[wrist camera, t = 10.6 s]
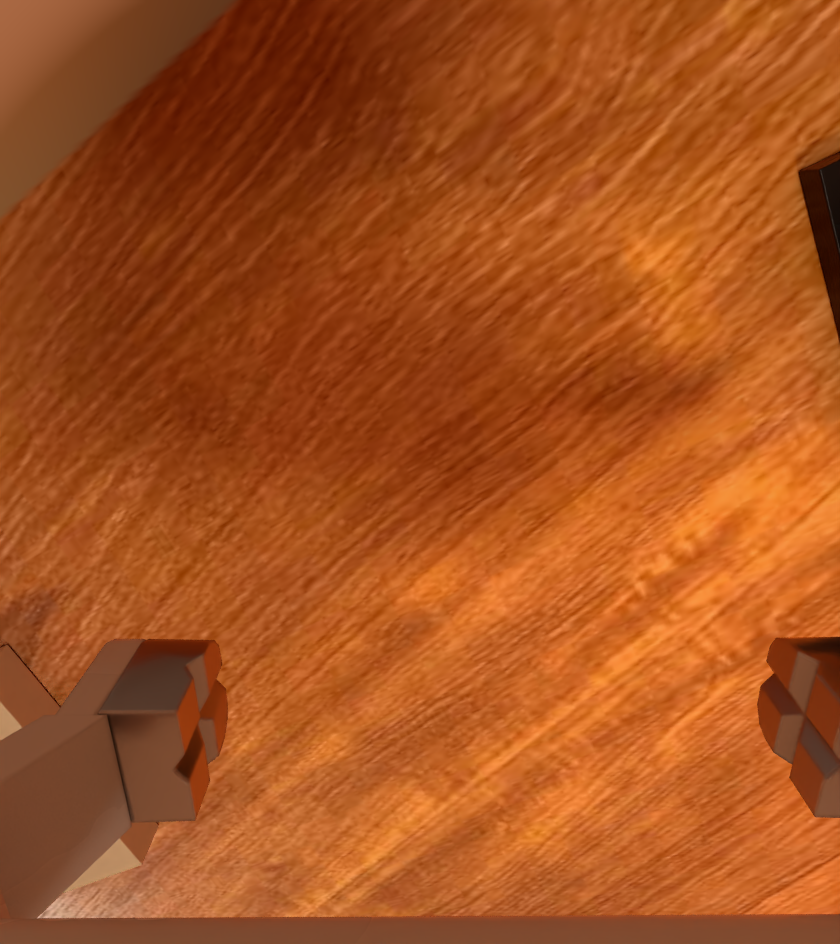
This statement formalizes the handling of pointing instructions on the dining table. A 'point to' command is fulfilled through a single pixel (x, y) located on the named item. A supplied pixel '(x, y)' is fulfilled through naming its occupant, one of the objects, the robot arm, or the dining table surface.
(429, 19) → the dining table surface
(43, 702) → the button box
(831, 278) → the bracket
